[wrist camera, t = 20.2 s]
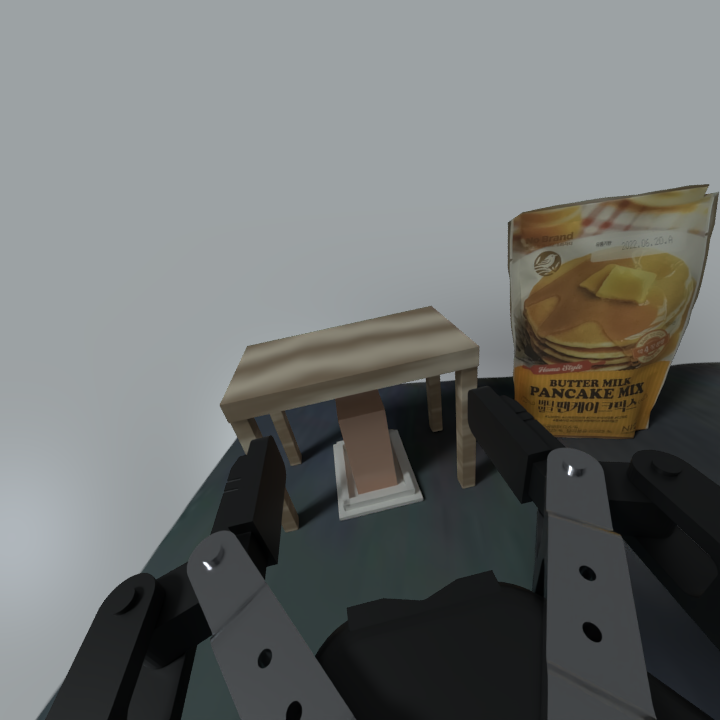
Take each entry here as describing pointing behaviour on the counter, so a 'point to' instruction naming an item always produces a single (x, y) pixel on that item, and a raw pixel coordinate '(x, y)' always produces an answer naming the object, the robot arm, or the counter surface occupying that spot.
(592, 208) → the pancake mix bag
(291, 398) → the small wooden table
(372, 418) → the plain brown box
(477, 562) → the counter surface
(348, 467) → the tray
